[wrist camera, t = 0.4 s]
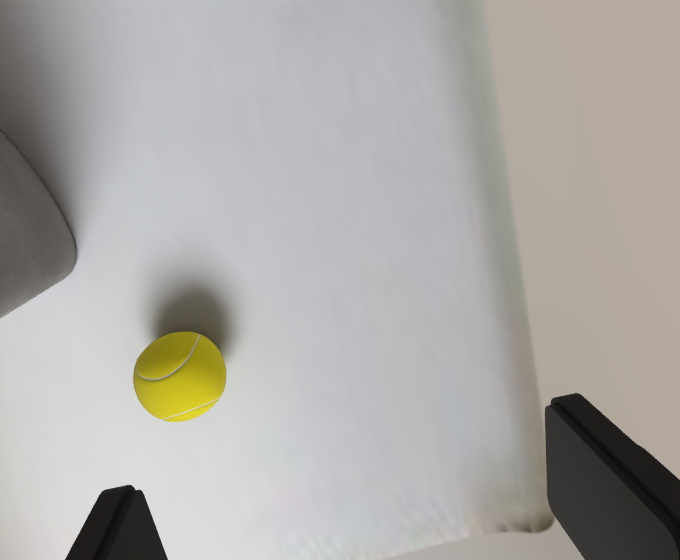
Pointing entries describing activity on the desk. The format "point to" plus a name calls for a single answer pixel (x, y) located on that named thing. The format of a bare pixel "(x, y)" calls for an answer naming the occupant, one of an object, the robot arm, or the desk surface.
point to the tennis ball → (179, 376)
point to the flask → (29, 233)
